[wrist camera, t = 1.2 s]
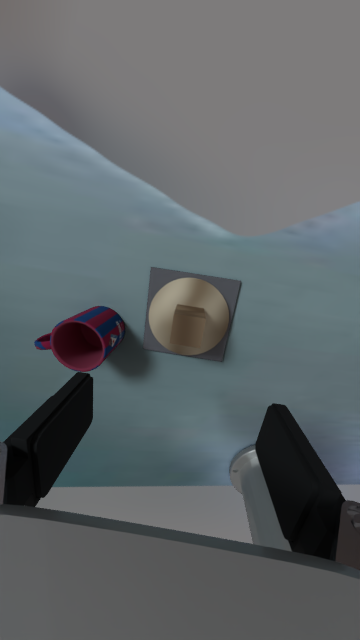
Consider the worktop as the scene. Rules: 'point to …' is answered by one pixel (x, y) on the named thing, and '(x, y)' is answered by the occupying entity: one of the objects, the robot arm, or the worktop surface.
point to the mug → (84, 338)
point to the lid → (188, 316)
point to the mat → (221, 284)
